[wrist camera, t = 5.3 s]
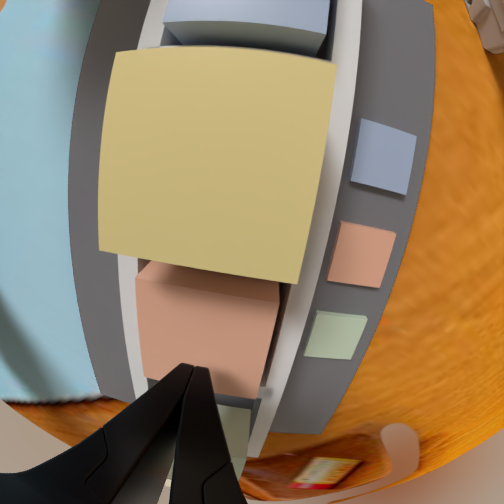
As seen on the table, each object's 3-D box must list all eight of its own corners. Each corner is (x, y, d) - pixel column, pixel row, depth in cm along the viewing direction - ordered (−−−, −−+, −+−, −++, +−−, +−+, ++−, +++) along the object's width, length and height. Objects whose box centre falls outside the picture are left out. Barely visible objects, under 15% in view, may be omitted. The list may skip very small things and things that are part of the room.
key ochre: (143, 221, 8) (98, 250, 6) (159, 76, 7) (116, 52, 4) (289, 243, 8) (297, 284, 6) (315, 91, 7) (337, 64, 4)
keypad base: (105, 385, 16) (87, 415, 13) (120, -23, 7) (92, -47, 4) (319, 425, 16) (323, 460, 13) (425, 10, 7) (455, -12, 4)
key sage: (160, 436, 12) (148, 473, 10) (152, 389, 11) (133, 434, 8) (239, 452, 12) (235, 491, 10) (251, 409, 11) (246, 458, 8)
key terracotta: (163, 338, 12) (144, 376, 10) (163, 248, 10) (134, 277, 8) (258, 355, 12) (255, 399, 10) (277, 267, 10) (279, 303, 8)
